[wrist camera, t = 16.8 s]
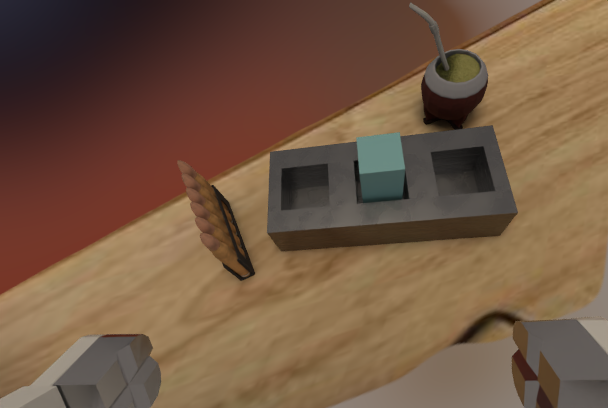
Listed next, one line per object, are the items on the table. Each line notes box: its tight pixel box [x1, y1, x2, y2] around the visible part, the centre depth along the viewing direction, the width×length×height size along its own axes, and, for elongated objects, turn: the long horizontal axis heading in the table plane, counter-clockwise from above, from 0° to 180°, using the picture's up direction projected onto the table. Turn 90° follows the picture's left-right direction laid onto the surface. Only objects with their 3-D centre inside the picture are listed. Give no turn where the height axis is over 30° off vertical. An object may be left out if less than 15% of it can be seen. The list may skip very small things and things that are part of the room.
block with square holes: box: [267, 125, 518, 251], centre depth 41 cm, size 24×10×6 cm, turn 91°
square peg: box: [357, 132, 405, 203], centre depth 38 cm, size 4×4×10 cm
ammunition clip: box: [178, 160, 255, 281], centre depth 40 cm, size 11×2×12 cm, turn 24°
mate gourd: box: [409, 3, 488, 130], centre depth 41 cm, size 8×8×15 cm
